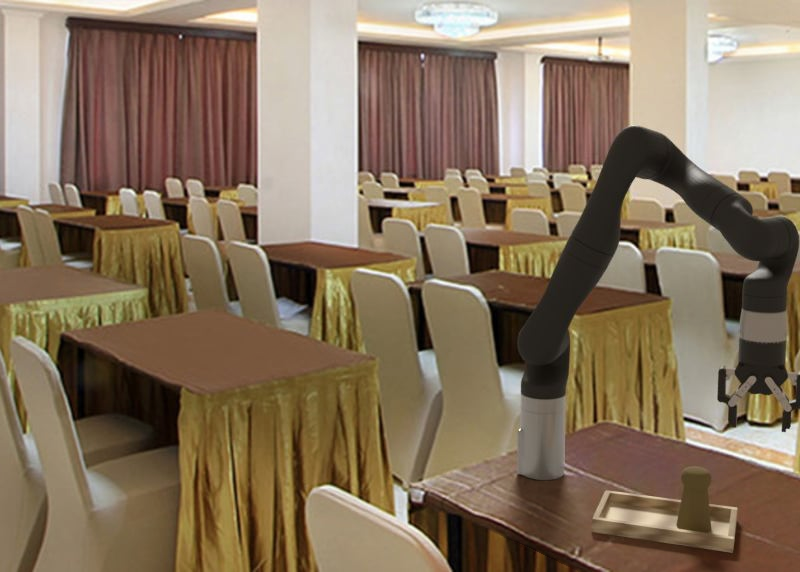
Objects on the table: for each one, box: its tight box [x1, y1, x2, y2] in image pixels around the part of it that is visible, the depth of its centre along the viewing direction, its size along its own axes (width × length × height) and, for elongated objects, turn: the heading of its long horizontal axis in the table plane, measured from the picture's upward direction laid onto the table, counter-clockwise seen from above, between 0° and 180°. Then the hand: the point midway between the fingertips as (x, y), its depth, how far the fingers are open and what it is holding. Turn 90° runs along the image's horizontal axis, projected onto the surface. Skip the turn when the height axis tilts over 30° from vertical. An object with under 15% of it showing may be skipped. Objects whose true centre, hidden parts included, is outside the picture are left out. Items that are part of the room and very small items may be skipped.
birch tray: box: [591, 489, 738, 554], centre depth 173 cm, size 24×14×2 cm, turn 69°
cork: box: [676, 465, 712, 533], centre depth 171 cm, size 6×6×11 cm
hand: (758, 428), depth 164 cm, fingers open, 7 cm apart
